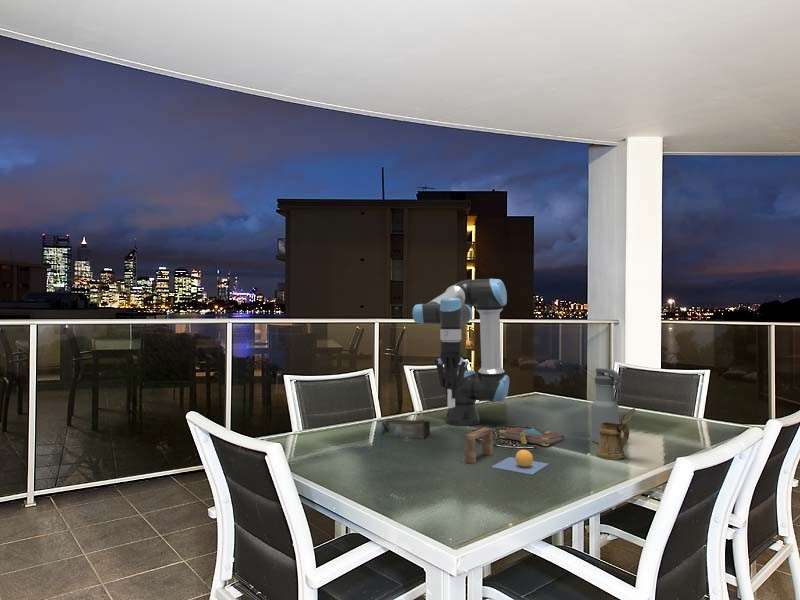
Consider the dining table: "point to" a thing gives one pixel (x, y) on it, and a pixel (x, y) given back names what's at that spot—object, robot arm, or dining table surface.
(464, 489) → the dining table surface
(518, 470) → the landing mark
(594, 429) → the water bottle
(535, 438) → the book
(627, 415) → the wooden mug
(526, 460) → the ball
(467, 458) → the bridge
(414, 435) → the beverage carton
